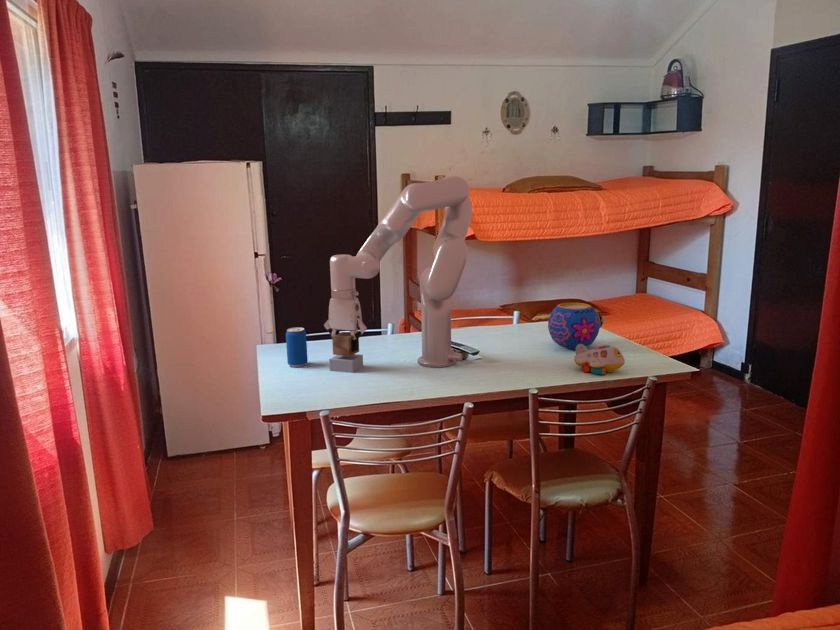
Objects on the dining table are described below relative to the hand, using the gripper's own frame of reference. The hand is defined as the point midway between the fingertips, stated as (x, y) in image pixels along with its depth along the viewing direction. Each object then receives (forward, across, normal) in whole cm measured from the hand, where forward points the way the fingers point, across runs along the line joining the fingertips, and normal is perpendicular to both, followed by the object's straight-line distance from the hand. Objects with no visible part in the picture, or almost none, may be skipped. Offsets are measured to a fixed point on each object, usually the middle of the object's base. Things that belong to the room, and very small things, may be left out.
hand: (346, 349), depth 214 cm
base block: (+7, 0, 0) cm, 7 cm away
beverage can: (+6, +17, +3) cm, 19 cm away
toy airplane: (+7, -74, -28) cm, 79 cm away
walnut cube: (+1, 0, 0) cm, 1 cm away
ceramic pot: (+7, -60, -53) cm, 80 cm away
